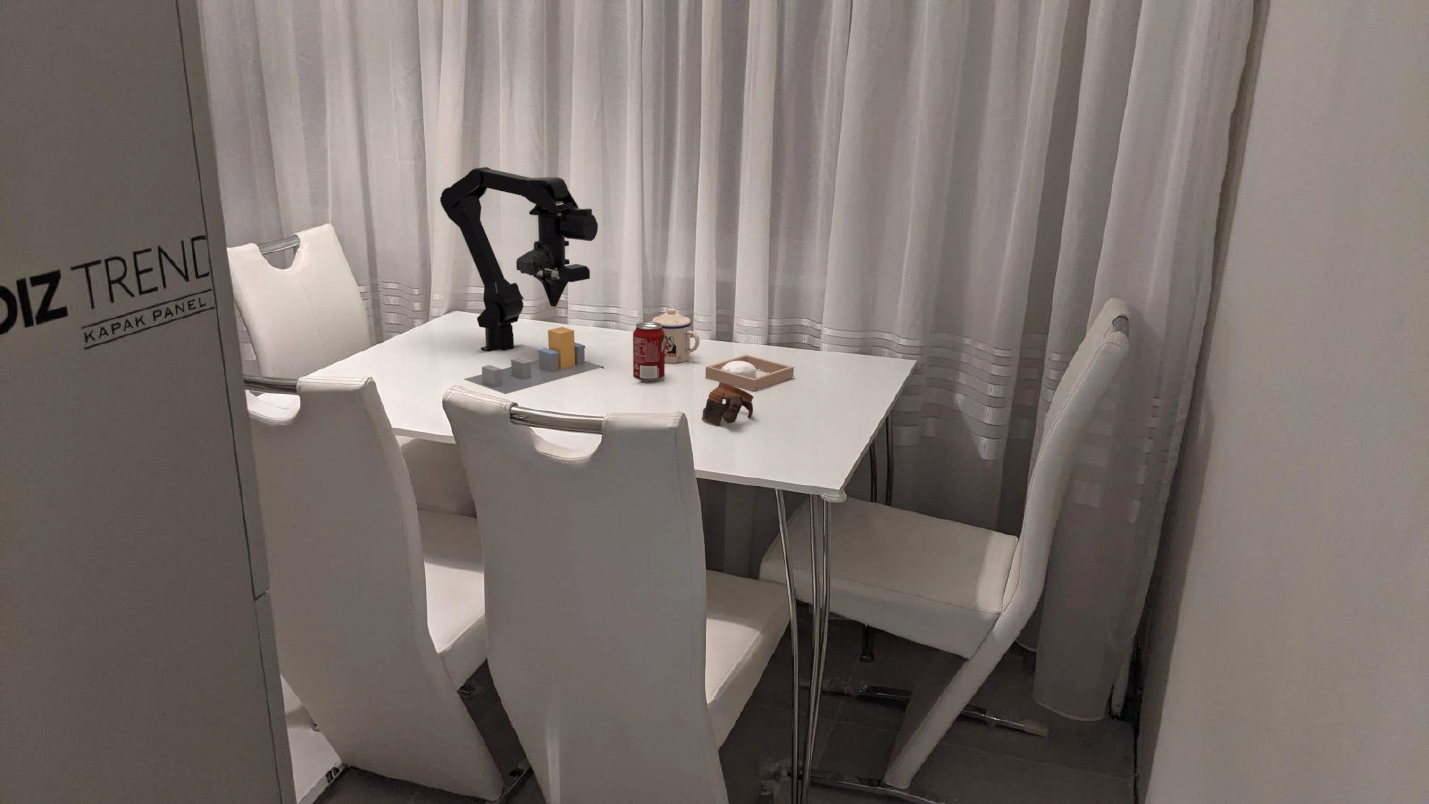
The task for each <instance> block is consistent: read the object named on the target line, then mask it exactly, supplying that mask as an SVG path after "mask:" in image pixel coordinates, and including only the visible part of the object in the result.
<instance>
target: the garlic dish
mask: <svg viewBox="0 0 1429 804" xmlns="http://www.w3.org/2000/svg"><path fill="white" fill-rule="evenodd" d="M732 361H745V362H748V363H750V364H752V365H753V366H754V367H755V368H756V370H757V369H760V370H759V371H761V370H763V371H762V372H764V371H766V373H767V374H763V375H761V376H758V377H755V378H754V379H753V378H749V377H746V376H742V375H739V374H735V373H731V372H728V371H724V370H721V368H722V367H723V366H725V365H726V364H727V363H729V362H732ZM794 368H795V366H792V365H789V364H784V363H780V362H776V361H772V360H769V359H764V358H761V357H757V356H753V355H750V354H742V355H740V356H736V357H734V358H730V359H727V360H724V361H723V360H722V361H720V362H717V363H714V364H711V365H708V366H705V379H708V380H712V381H715V382H718V383H720V382H721V383H726V384H729V385H733V386H734V387H737V388H739V387H740V388H739V389H743V388H744V389H743V390H746V389H747V391H750V392H757V391H760V390H763V389H765V387H766V388H768V386H769V387H771V386H770V385H772V386H773V385H774V386H775V385H778V384H781V383H783V382H786V381H788V380H787V379H789V380H791V379H790V378H792V377H793V378H794V373H795V371H794ZM768 372H769V373H768ZM793 378H792V379H793ZM785 380H786V381H785ZM762 388H763V389H762ZM759 389H760V390H759Z"/></svg>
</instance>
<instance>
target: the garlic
mask: <svg viewBox="0 0 1429 804" xmlns="http://www.w3.org/2000/svg"><path fill="white" fill-rule="evenodd" d="M721 370H724V371H728V372H731V373H735V374H739V375H742V376H746V377H749V378H753V379H754V378H756V376H757V374H756V373H757V369H755V367H754V366H753V365H752V364H750V363H748V362H745V361H732V362H729V363H727V364H726V365H725V366H723V367H722V368H721Z"/></svg>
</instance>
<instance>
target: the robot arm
mask: <svg viewBox="0 0 1429 804" xmlns="http://www.w3.org/2000/svg"><path fill="white" fill-rule="evenodd" d="M488 189H489V190H495V191H500V192H504V193H508V194H512V195H517V196H521V197H523V198H525V199H526V200H527V201H528V202H530V203H533V204H534V207H533V208H532V209H531V210H529V213H528V214H529V215H530V216H537V225H538V227H537V229H538V230H537V231H538V232H537V233H538V240H536V241H534V243H533V249H531V250H529V251H527V252H526V253H524V254H523V255H521V256H519V257H518V258H516V264H515V265H516V271H520V273H521V274H523V275H524V274H526V275H529V276H532V277H533V278H535V279H537V280H538V281H539V282H540V283H541V284H542V287H543V289H544V292H545V295H546V296H547V299H548V302H549V304H550V307H552V308H554V307H557V306H558V304H559V301H560V300H561V297H562V295H563V293H564V291H565V288H566V287H567V285H568V283H574V282H575V283H576V282H580V281H584V280H590V279H591V270H590V268H589V267H588V266H586V265H583V264H578V263H574V264H570V259H568V258H566V247H568V246H570V241H569V240H575V241H576V240H577V241H578V240H579V241H584V242H585V241H586V242H592V241H593V240H595V238H596V236H597V234H598V228H599V224H598V221H597V219H596V216H595V215H594V214H593V209H592V208H579V205H578V204H577V202H576V200H575V199H574V197H573V196H572V194H571V192H570V191H569V188H568V186H567V184H566V182H565V180H564V179H563V178H562V177H557V176H556V177H554V176H553V177H552V176H551V177H550V176H549V177H548V176H546V177H542V176H541V177H529V176H524V175H520V174H514V173H511V172H505V171H501V170H497V169H493V168H492V169H491V168H490V167H488V166H484V167H475V168H472V169H471V171H469V172H468V173H467V174H466V175H464V176H463V177H462V178H460V179H459V180H457V181H456V182H454V183H453V184H451V186H449V187H445V188H444V189H443V190H442V192H441V196H440V197H439V201H440V205H441V207H442V210H444V212H445V214H446V216H447V217H448V219H449V220H451V221H452V223H454V224H455V225H456V226H457V227H458V228H459V229H460V232H461V233H462V237H463V238H464V241H465V244H466V246H467V248H468V251H469V253H470V256H471V257H472V260H473V263H474V265H475V267H476V269H477V272H478V275H479V277H480V279H481V282H482V285H483V297H482V299H483V303H484V309H483V311H482V312H481V313H480V314H479V315H478V317H476V321H477V324H478V326H479V328H483V329H484V330H485V333H484V334H485V346H482V347H480V350H481V351H485V352H487V353H490V352H494V351H498V350H499V351H508V350H513V349H515V341H514V328H513V327H514V326H513V325H512V324H513V323H517V322H518V320H519V318H520V315H521V314H522V312H523V309H524V301H523V300H524V299H525V298H524V297H523V295H522V294H521V292H520V289H519V288H520V287H519V285H518V283H516V282H513V283H510V282H509V281H508V280H507V279H506V278H505V276H504V273H503V271H502V270H501V267H500V264H499V262H498V259H497V257H496V254H495V253H494V250H493V248H492V245H491V242H490V240H489V238H488V236H487V234H486V231H485V229H484V226H483V224H482V221H481V215H482V203H481V200H480V199H481V198H482V197H484V195H486V192H487V190H488ZM566 239H569V240H566Z"/></svg>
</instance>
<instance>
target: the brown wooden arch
mask: <svg viewBox="0 0 1429 804" xmlns="http://www.w3.org/2000/svg"><path fill="white" fill-rule="evenodd" d="M718 383H719V384H718V386H717V387H716V388H714V389H713V390H712V391H710V392H709V394H708V398H707V399H706V403H705V407H704V408H703V409H702V416H701V420H704V421H706V422H708V423H710V424H712V425H714V426H717V427H720V426H721V422H722V421H724V422H725V423H726V424H734V423H735V422H736V420H737V419H738V416H739V413H740V412H741V410H742V409H741V408H742V407H744V409H746V410H747V411H748V414H747V418H749V419H750V418H752V417H753V413H754V408H753V407H754V406H753V402H752V401H753V399H754V398H755V397H754V396H753V395H752V394H751V393H749V392H747V391H746V390H744V389H742V388H739V387H736V386H732V385H729V384H726V383H722V382H718ZM724 400H725V403H723V401H724Z"/></svg>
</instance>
